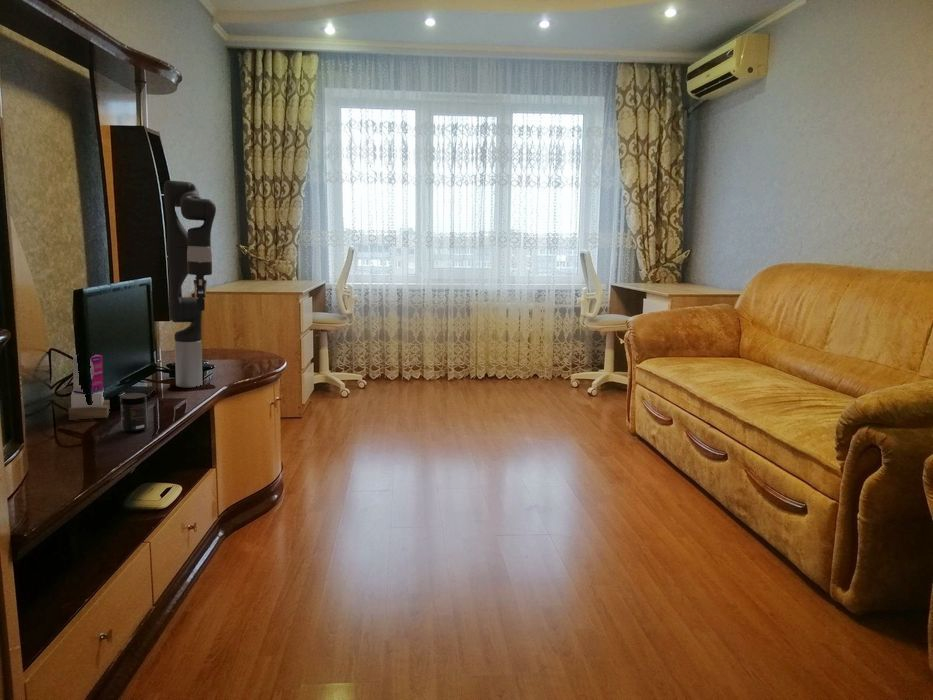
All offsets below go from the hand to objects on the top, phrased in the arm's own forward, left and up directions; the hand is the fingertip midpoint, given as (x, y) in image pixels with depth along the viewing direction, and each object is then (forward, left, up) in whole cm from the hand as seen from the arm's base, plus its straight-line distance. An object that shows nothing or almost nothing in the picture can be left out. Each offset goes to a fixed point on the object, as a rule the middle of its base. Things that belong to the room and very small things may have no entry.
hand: (200, 308), depth 212 cm
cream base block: (+9, -32, -33) cm, 47 cm away
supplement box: (+9, -33, -25) cm, 42 cm away
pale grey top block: (+8, -33, -29) cm, 45 cm away
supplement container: (+29, -19, -32) cm, 47 cm away
